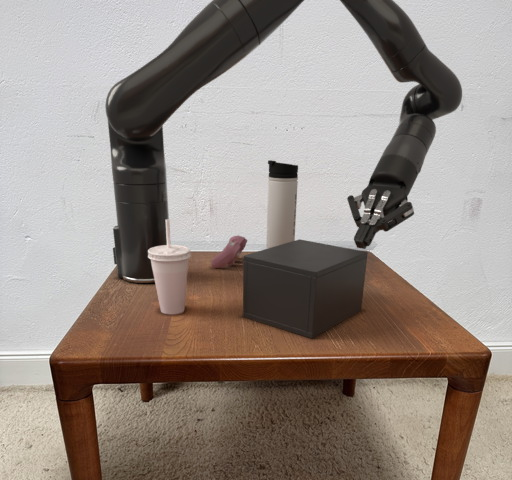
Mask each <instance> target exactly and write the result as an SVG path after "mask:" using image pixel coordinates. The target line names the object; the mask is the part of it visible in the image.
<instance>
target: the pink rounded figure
mask: <svg viewBox="0 0 512 480" xmlns="http://www.w3.org/2000/svg"><path fill="white" fill-rule="evenodd" d="M247 243H248V239H246V237H244V236H241V235H239V234H238V235H232V236H231V237H230V238H229V240H228V243H227V244H226V245H225V247H223V249H222V251H220V252H219V253H218V254H216V255H215V256H213V258H212V259H211V262H210V265H211V267H212V268H214V269H220V268H224V267H225V266H227V265H228V266H230V267H232V266H233V265H234V263H236V261H237V260H240V258H241V256H242V252H243V251H244V249H246V247H247Z"/></svg>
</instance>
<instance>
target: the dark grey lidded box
mask: <svg viewBox="0 0 512 480" xmlns="http://www.w3.org/2000/svg"><path fill="white" fill-rule="evenodd" d="M368 253H369V252H368V251H365V250H359V249H354V248H348V247H343V246H337V245H332V244H328V243H327V244H326V243H321V242H317V241H311V240H305V239H295V241H292V242H289V243H285V244H282V245H278V246H275V247H272V248H268V249H266V248H265V249H262V250H258V251H255V252H250V253H247V254H244V255H243V257H242V258H243V262H242V265H243V266H242V267H243V268H242V269H243V270H242V274H243V275H242V281H243V282H242V288H243V289H242V317H243V318H245V319H249V320H252V321H255V322H258V323H261V324H264V325H268V326H269V327H274V328H277V329H280V330H282V331H283V330H284V331H286V332H289V333H293V334H296V335H300V336H302V337H306V338H308V339H315V338H316V337H318V336H319V335H321V334H322V333H325V332H326V331H328V330H329V329H332V328H333V327H335V326H337V325H338V324H341V323H342V322H345V320H347V319H349V318H351V317H353V316H354V315H356V314H358V313H359V312H361V311H362V305H363V297H364V290H365V289H364V288H365V280H366V272H367V271H366V270H367V262H368Z"/></svg>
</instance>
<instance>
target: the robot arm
mask: <svg viewBox="0 0 512 480" xmlns="http://www.w3.org/2000/svg"><path fill="white" fill-rule="evenodd" d="M303 2H305V0H212V1H210V2H209V3H208V4H207V5H205V7H203V8H202V10H201V11H199V13H197V14H196V16H195V17H193V19H192V20H191V21H190V22H188V24H187V25H186V26H185V28H184V29H182V30H181V32H180V33H179V34H178V35H177V36H176V38H175V39H174V40H173V41H172V42H171V43H170V44H169V45H168V47H166V48H165V49H164V50H163V51H162V52H161V53H159V54H158V55H157V56H155V57H154V58H153V59H151V60H150V61H148V62H147V63H146V64H144V65H142V66H141V67H140V68H138V69H137V70H135V71H134V72H132V73H131V74H129V75H128V76H126V77H124V78H122V79H120V80H119V81H117V82H115V84H114V85H113V86H111V88H110V89H109V91H108V93H107V95H106V98H105V104H104V105H105V106H104V107H105V114H106V119H107V128H108V137H109V148H110V160H111V161H110V162H111V173H112V174H111V175H112V182H113V183H112V184H113V193H114V194H113V195H114V201H115V202H114V203H115V212H116V224H117V225H115V226H113V227H112V232H113V242H114V247H112V253H113V262H114V265H116V270H117V278H118V279H123V280H124V281H126V282H130V283H136V284H137V283H138V284H151V283H155V279H154V274H153V270H152V264H151V259H149V258H148V250H149V249H150V248H152V247H156V246H162V245H167V238H166V221H165V220H166V219H169V220H170V216H169V214H170V213H169V200H168V199H169V198H168V197H169V195H168V183H167V182H168V180H167V179H168V178H167V177H168V176H167V164H166V155H165V144H164V143H165V141H164V125H165V124H166V123H167V121H168V120H169V119H170V118H171V117H172V116H173V115H174V113H176V111H177V110H178V109H179V108H181V106H182V105H184V103H186V101H187V100H188V99H189V98H191V97H192V96H193V95H194V94H195V93H196V92H198V91H199V90H200V89H202V88H203V87H205V86H206V85H208V84H210V83H211V82H213V81H215V80H216V79H218V78H219V77H221V76H223V75H224V74H225V73H227V72H228V71H229V70H230V69H232V68H233V67H235V66H236V65H237V64H239V63H240V62H241V61H243V60H244V59H245V58H246V57H247V56H249V55H250V54H251V53H252V52H253V51H255V50H256V49H257V48H258V47H259V46H260V45H262V44H263V43H264V42H265V41H266V40H267V39H268V38H269V37H270V36H271V35H272V34H273V33H274V32H275V31H276V30H278V29H279V28H280V26H281V25H282V24H283V23H285V21H287V19H289V17H290V16H291V15H292V14H294V13H295V11H296V10H297V9H298V8H299V7H300V6H301V5H302V4H303ZM339 2H340V3H341V4H342V5H343V6H344V7H345V8H346V10H347V11H348V12H349V13H350V15H351V16H352V18H353V19H354V20H355V21H356V23H357V24H358V25H359V26H360V28H361V29H362V31H363V33H365V35H366V36H367V38H368V39H369V41H370V42H371V44H372V45H373V47H374V48H375V50H376V51H377V53H378V54H379V56H380V58H381V60H382V61H383V62H384V64H385V66H386V67H387V69H388V70H389V72H390V74H391V75H392V77H393V78H394V79H395V81H397V82H398V83H400V84H403V83H404V84H405V83H417V85H415V86H412V88H411V89H410V90H408V92H407V93H406V94H405V96H404V97H403V100H402V104H401V109H400V115H399V120H398V126H397V127H396V130H395V132H394V133H393V136H392V137H391V139H390V141H389V143H388V145H387V146H386V147H385V148H384V150H383V152H382V153H381V156H380V158H379V160H378V162H377V164H376V166H375V168H374V170H373V172H372V173H371V176H370V178H369V181H368V184H367V186H366V187H365V188H364V189H362V191H361V194H358V195H356V196H354V195H352V194H351V195H348V196H347V198H346V199H347V203H348V206H349V209H350V212H351V216H352V218H353V221H354V223H355V225H356V227H357V230H356V232H355V235H354V236H353V242H354V244H355V246H356V248H357V249H362V250H366V249H367V248H368V247H370V246H371V244H372V242H373V241H374V239H375V236H376V234H377V233H379V231H380V232H381V231H383V232H389V231H390V230H392V229H394V228H395V227H397V226H398V225H400V224H401V223H403V222H405V221H406V220H408V219H409V218H411V217H413V216H414V215H415V211H414V207H413V203H412V202H411V201H408V200H409V199H408V197H409V194H410V192H411V191H412V189H413V186H414V184H415V182H416V181H417V178H418V176H419V174H420V173H421V171H422V168H423V165H424V163H425V159H426V156H427V155H428V152H429V150H430V148H431V146H432V144H433V142H434V140H435V137H436V133H437V126H436V123H435V121H434V120H436V119H439V118H441V117H444V116H447V115H449V114H452V113H454V112H455V111H456V110H457V109H458V108H459V107H460V106H461V103H462V100H463V87H462V84H461V82H460V79H459V78H458V76H457V75H456V73H454V71H453V70H451V68H450V67H448V66H447V65H446V64H445V63H444V62H443V61H442V60H440V58H439V57H438V56H436V54H434V53H433V52H432V51H431V50H430V49H429V47H428V46H427V45H426V43H425V41H424V39H423V37H422V35H421V34H420V32H419V30H418V29H417V27H416V25H415V24H414V21H412V19H411V18H410V16H409V15H408V14H407V13H406V12H405V10H403V8H402V7H401V6H399V4H397V2H396V1H394V0H339ZM362 203H363V206H364V208H363V214H362V216H361V213H360V209H361V207H362Z"/></svg>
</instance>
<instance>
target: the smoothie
mask: <svg viewBox="0 0 512 480" xmlns="http://www.w3.org/2000/svg"><path fill="white" fill-rule="evenodd" d="M165 221H166V238H167V245H162V246H156V247H152V248H150V249H149V250H148V258H149V259H151V264H152V270H153V274H154V279H155V282H154V283H155V288H156V294H157V299H158V305H159V309H160V312H161V313H162V314H165V315H179V314H182V313H184V311H185V310H186V309H185V308H186V296H187V285H188V272H189V271H188V270H189V260H190V258H191V257H192V253H191V248H189V247H187V246H183V245H180V244H179V245H177V244H171V225H170V224H171V223H170V218H169V219H166V220H165Z"/></svg>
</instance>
